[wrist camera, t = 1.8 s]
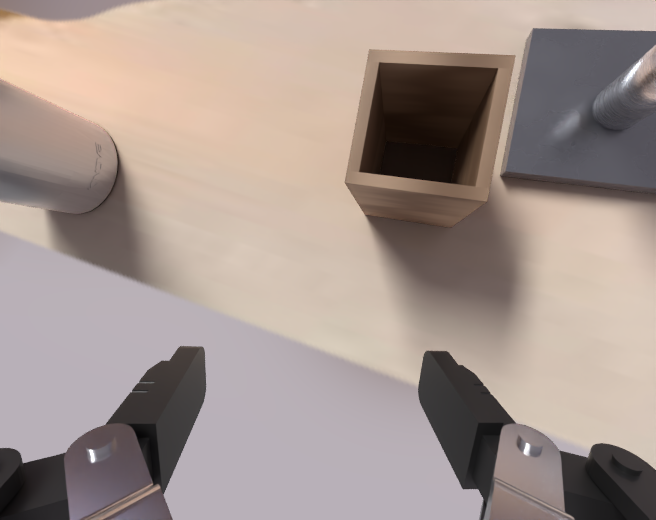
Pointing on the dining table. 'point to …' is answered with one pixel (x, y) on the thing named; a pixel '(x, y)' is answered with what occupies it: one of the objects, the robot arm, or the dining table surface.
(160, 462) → the robot arm
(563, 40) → the post plate
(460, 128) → the walnut sleeve
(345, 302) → the dining table surface
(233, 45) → the dining table surface
